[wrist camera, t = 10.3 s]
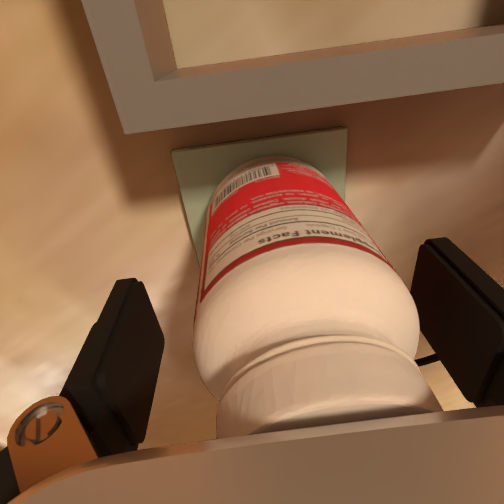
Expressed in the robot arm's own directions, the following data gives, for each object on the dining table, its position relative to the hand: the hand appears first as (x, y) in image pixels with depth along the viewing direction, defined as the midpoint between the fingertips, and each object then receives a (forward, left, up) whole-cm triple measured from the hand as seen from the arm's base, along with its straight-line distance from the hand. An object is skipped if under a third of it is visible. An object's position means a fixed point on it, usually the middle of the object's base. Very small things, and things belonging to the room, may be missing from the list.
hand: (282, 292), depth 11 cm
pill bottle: (0, 0, -6) cm, 6 cm away
